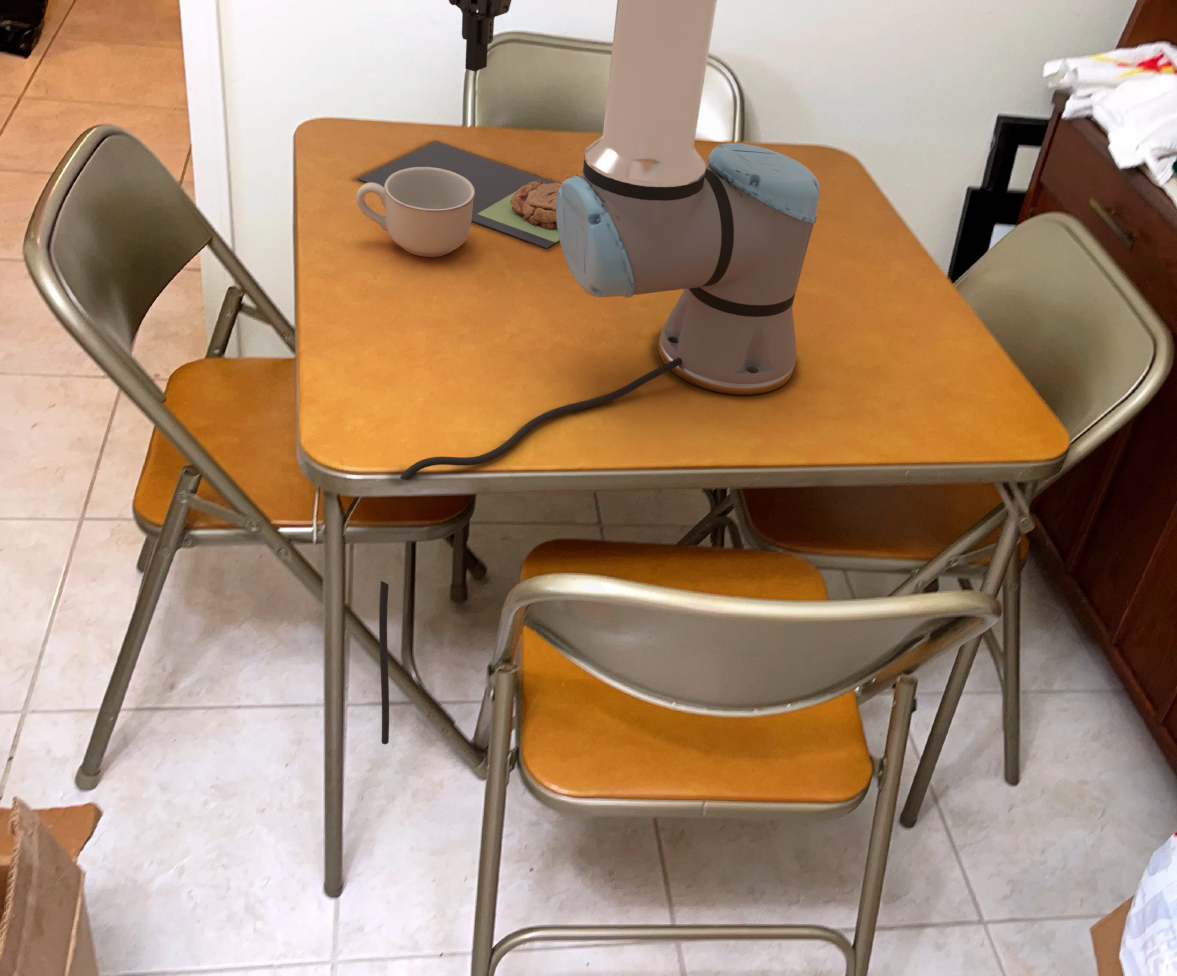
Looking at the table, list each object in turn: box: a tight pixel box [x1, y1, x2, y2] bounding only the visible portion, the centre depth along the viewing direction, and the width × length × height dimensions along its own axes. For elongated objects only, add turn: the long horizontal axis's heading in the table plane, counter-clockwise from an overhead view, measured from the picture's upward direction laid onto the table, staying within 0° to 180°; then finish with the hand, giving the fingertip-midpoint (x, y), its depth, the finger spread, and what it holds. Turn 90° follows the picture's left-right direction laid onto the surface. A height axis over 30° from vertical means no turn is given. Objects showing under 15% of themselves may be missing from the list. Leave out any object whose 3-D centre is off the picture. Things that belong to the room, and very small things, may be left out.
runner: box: [357, 140, 560, 250], centre depth 153 cm, size 18×30×1 cm, turn 61°
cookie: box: [510, 181, 562, 229], centre depth 149 cm, size 10×11×3 cm
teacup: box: [355, 167, 475, 258], centre depth 136 cm, size 14×11×8 cm
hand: (476, 67), depth 144 cm, fingers closed
